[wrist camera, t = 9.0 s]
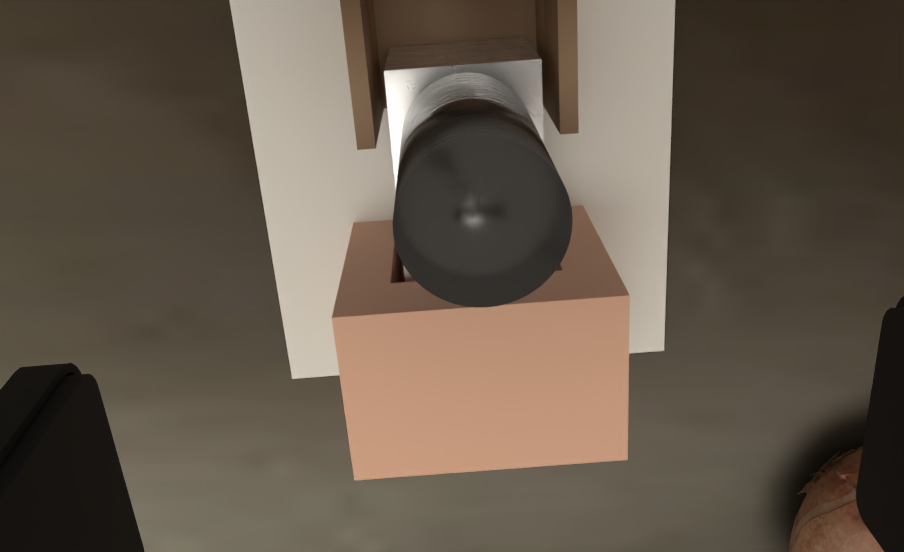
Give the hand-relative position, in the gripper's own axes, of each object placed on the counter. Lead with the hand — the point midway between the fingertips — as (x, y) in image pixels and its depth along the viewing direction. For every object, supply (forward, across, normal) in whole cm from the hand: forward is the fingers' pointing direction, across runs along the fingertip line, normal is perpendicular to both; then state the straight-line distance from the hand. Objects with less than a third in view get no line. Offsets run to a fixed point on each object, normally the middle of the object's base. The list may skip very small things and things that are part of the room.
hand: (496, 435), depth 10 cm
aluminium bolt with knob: (+19, -1, +3) cm, 19 cm away
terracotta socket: (+19, 0, +6) cm, 20 cm away
